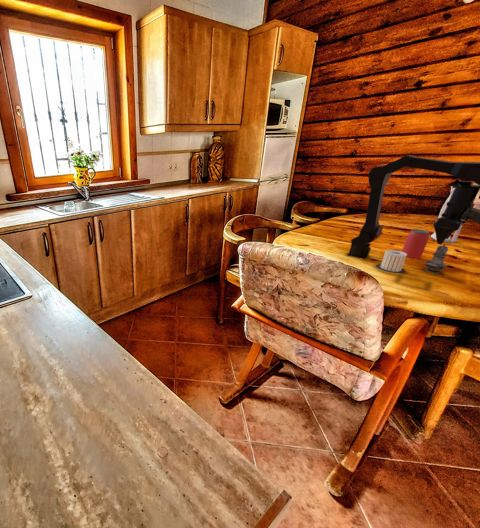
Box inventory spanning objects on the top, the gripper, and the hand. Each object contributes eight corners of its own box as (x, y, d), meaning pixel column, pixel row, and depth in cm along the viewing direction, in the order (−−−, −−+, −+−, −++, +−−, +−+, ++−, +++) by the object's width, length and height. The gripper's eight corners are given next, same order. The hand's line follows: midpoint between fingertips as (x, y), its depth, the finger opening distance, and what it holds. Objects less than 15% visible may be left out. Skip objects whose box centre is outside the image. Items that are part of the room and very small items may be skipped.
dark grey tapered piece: (447, 275, 107) (460, 246, 102) (429, 274, 108) (441, 246, 104) (435, 269, 113) (447, 241, 108) (418, 268, 114) (429, 241, 109)
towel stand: (373, 269, 115) (376, 259, 113) (378, 263, 120) (382, 253, 118) (402, 276, 108) (406, 266, 107) (407, 269, 114) (411, 259, 112)
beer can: (416, 260, 120) (427, 234, 116) (397, 255, 126) (406, 230, 121) (423, 257, 123) (434, 231, 118) (404, 252, 129) (413, 228, 124)
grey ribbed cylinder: (378, 268, 115) (383, 252, 112) (382, 264, 118) (387, 248, 115) (399, 273, 110) (405, 257, 107) (402, 268, 114) (408, 252, 111)
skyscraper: (433, 241, 139) (457, 184, 128) (425, 236, 146) (447, 181, 135) (456, 242, 136) (483, 184, 125) (446, 237, 143) (471, 181, 132)
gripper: (493, 208, 87) (469, 253, 94) (501, 199, 96) (479, 241, 103) (442, 202, 96) (424, 244, 102) (455, 194, 105) (437, 233, 111)
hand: (442, 241), depth 104 cm, fingers open, 9 cm apart
